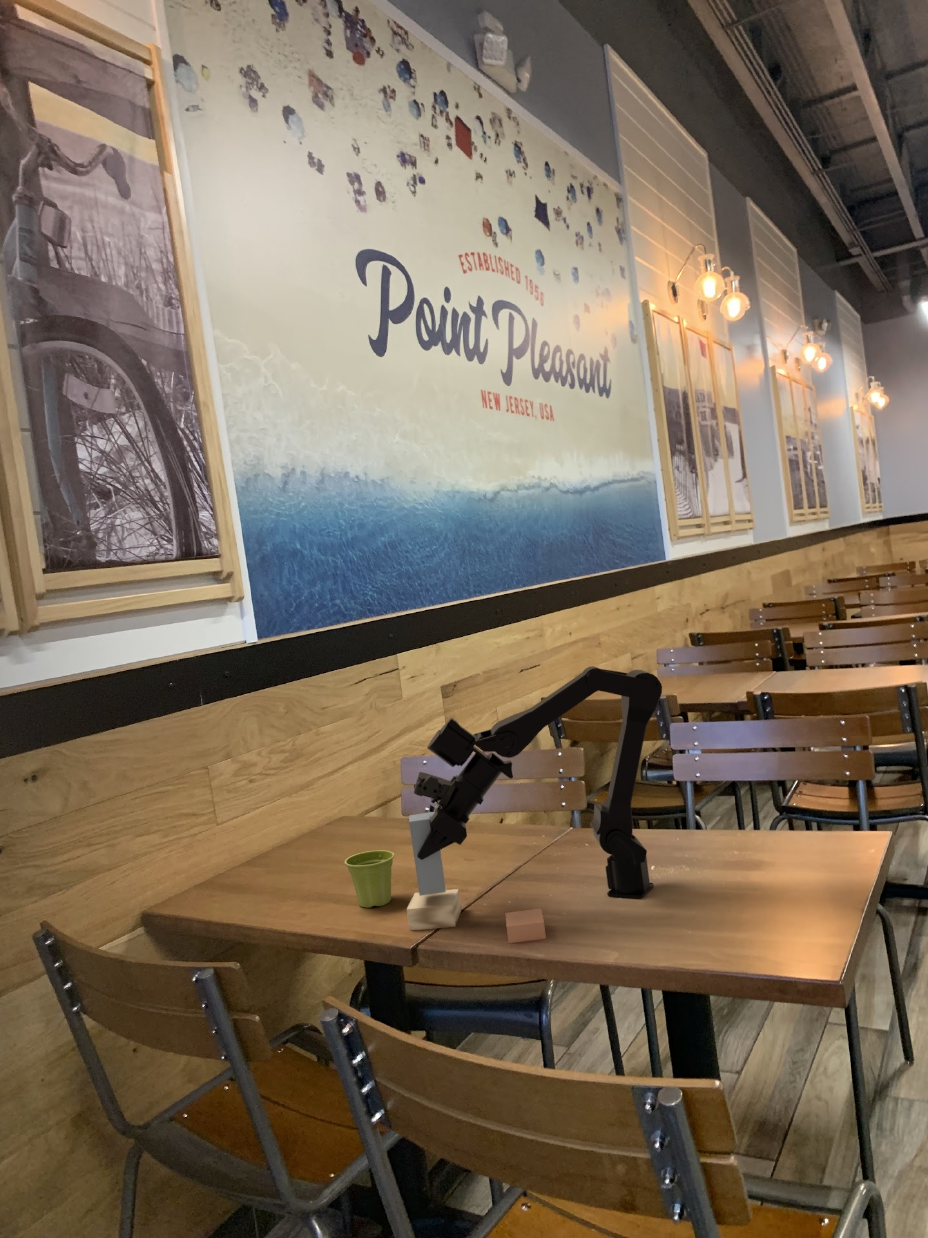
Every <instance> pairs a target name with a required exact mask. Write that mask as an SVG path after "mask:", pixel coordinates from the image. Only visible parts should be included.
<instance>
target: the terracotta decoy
mask: <svg viewBox="0 0 928 1238" xmlns="http://www.w3.org/2000/svg"><path fill="white" fill-rule="evenodd" d="M504 914H505V924H506V933H507V934H506V935H507V940H508V942H507V943H508V944H513V943H514V944H515V943H522V942H530V941H537V940H545V939H547V936H546V927H545V921H544V916H543V911H542V908H534V909H527V910H526V909H525V910H519V911H511V912H510V911H509V912H505V913H504Z"/></svg>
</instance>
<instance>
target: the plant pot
mask: <svg viewBox="0 0 928 1238" xmlns="http://www.w3.org/2000/svg"><path fill="white" fill-rule="evenodd" d="M394 858H395V853H394V852H392V851H390V850H385V849H384V850H383V849H381V850H380V849H377V850H368V851H363V852H359V853H356V854H353V855H351V856H348V857H347V858H346V859H345V860H344V865H345V866H346V867H347V869H348V872H349V873H350V875H351V879H352V883H353V887H354V891H355V894H356V895H355V896H356V898H357V902H358V905H359V906H360V907H362V908H372V907H374V906H376V907H383V906H384V905H387V904H389V903H390V902H391V900H392V867H393V864H394V861H393V859H394Z"/></svg>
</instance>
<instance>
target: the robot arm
mask: <svg viewBox="0 0 928 1238" xmlns="http://www.w3.org/2000/svg"><path fill="white" fill-rule="evenodd" d="M596 692H605V693H608V694H612V695H617V696H621V698H620V699H621V700H620V701H621V703H620V705H621V712H622V715H621V716H622V721H621V727H620V732H619V736H618V740H617V746H616V751H615V756H614V761H613V766H612V771H611V776H610V781H609V787H608V791H607V795H606V798H605V800H604V801H603V802H602V804H598V803H597V802H596V803H595V802H594V805H593V818H592V820H591V821H590V823H589V825H590V826H591V828H592V832H593V836H594V839H596V841H597V843H598V844H599V846H600V847H601V849H602V850H603V852H605V853H607V854H608V855H609V856H608V857H607V858H606V861H607V862H606V863H607V865H606V866H605V867H604V868H605V874H606V882H607V888H608V890H609V891H607V893H606V894H607V896H608V897H618V898H631V899H634V898H635V899H642V898H643V897H645V895H647V893H648V892H650V890H651V889H652V888H653V887H655V884H654V882H650V876H649V874H650V873H649V866H648V859H647V858H648V857H647V854H648V850H647V849H646V848H645V846H643V844H642V843H641V841H640V839H638V838H637V837H636V836H635V835H634V834H633V827H634V826H633V823H634V821H633V812H632V811H633V810H632V801H633V800H632V799H633V795H634V791H635V786H636V781H637V776H638V770H639V766H640V761H641V760H640V759H641V755H642V751H643V746H644V745H643V744H644V740H645V735H646V729H647V726H648V724H649V722H650V720H651V719H652V717H653V715H654V713H655V712H656V709H657V707H658V704H659V701H660V699H661V696H662V693H663V685H662V683H661V681H660V679H659V678H658V677H657V676H656V675H655V674H653V673H651V672H648V671H645V670H643V669H634V670H631V671H629V672H623V671H617V670H610V669H604V668H599V667H597V666H589V667H586V668H584V670H583V671H582V672H580V673H579V674H578V675H577V676H575V677H574V678H572V679H570V680H569V681H568V682H567V683H565V684H564V685H562V686H560V687H559V688H557V689H556V690H554V691H553V692H552V693H550V694H548V696H546V697H544V698H543V699H542V700H540V701H539V702H538V703H536V704H534V705H533V706H532V707H530V708H528V709H526V710H523V711H521V712H518V713H515V714H512V715H510V716H508V717H506V718H504V719H501V720H499V721H497V722H496V723H495V724H493V726H492V727H491V728H490V729H486V730H483V731H479V732H477V733H473V734H472V733H471V732H470V731H468V729H465V728H464V727H463V726H462V725H460V723H459V722H458V721H457V720H455V718H453V717H450V718H449V720H447V722H446V723H445V724H444V725H443V726H442V727H441V728H440V729H438V730H437V732H436V733H435V734H434V736H433V737H432V739H431V740H430V742H429V743H428V745H427V746H426V747H427V748H426V749H427V750H429V751H430V752H431V753H433V754H434V755H436V756H437V757H438V758H439V759H441V760H442V761H443V762H445V763H446V764H448V765H449V766H450V767H452V768H455V766H457V767H459V766H460V767H462V766H463V765H464V764H465V763H466V762H467V761H468V760H469V761H468V762H467V763H466V765H465V766H464V767H463V769H462V770H460V773H459V774H456V775H453V776H452V777H451V779H450V780H448V779H445V778H443V777H441V776H436V775H432V774H431V773H425V772H421V771H420V772H418V776H417V778H416V782H415V784H414V789H413V794H415V795H416V796H419V797H427V798H430V802H431V803H432V804H435V803H436V804H435V806H433V805H432V804H429V812H435V813H434V814H433V816H432V818H431V817H429V823H430V829H431V830H430V832H429V834H428V836H427V838H426V839H425V841H424V843H423V845H422V847H421V849H420V851H419V853H418V855H417V857H418V858H420V859H421V860H423V859H425V858H427V857H428V856H430V855H432V854H434V853H436V852H437V851H439V850H441V851H442V849H445V848H446V847H449V846H450V845H453V844H457V845H459V846H461V845H462V843H463V842H464V841H465V840H466V838H467V837H468V834H467V833H468V832H467V825H466V824H467V823H468V822H469V820H470V816H471V814H472V813H473V811H475V809H476V807H477V806H478V805H482V803H483V802H484V800H485V799H484V797H485V795H486V794H487V793H488V791H489V790H490V789H491V788H492V786H493V785H494V783H495V782H496V781H497V780H498V779H499V777H500V776H501V774H503V775H505V776H506V777H507V778H509V779H513V778H514V774H513V762H512V760H510V759H511V758H514V757H516V756H518V755H519V754H520V753H521V752H523V750H525V748H527V746H529V744H531V743H532V741H534V739H536V737H537V736H538V734H539V733H540V732H541V731H542V730H543V729H545V727H547V726H548V725H550V724H551V723H552V722H554V721H555V720H557V719H559V718H560V717H562V716H563V715H564V714H566V713H568V711H570V710H571V709H573V708H574V707H576V706H577V705H579V704H580V703H582V702H583V701H585V700H586V699H587V698H589V697H591V696H592V695H593V694H595V693H596ZM473 752H474V754H473ZM485 752H488V754H487V753H485ZM495 753H496V754H497V755H498V756H497V755H496V754H495ZM472 754H473V755H472ZM471 755H472V757H471ZM499 756H500V757H502V758H507V759H509V760H505V761H504V760H503V759H502V758H500V757H499ZM470 757H471V758H470ZM469 758H470V759H469Z"/></svg>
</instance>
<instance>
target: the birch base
mask: <svg viewBox="0 0 928 1238" xmlns="http://www.w3.org/2000/svg"><path fill="white" fill-rule="evenodd" d="M412 896H413V897H411V899H410V902H409V903H408V906H407V907H406V915H407V916H406V917H407V923H408V929H409V930H408V931H418V930H419V931H420V930H430V929H443V928H455V927H456V926H457V923H458V920H459V916H460V914H461V912H462V905H461V903H462V902H461V895H460V889H459V888H456V889H454V888H453V889H445V892H442V893H435V894H428V895H421V896H420V895H419V891H418V892H414V894H413V895H412Z"/></svg>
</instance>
